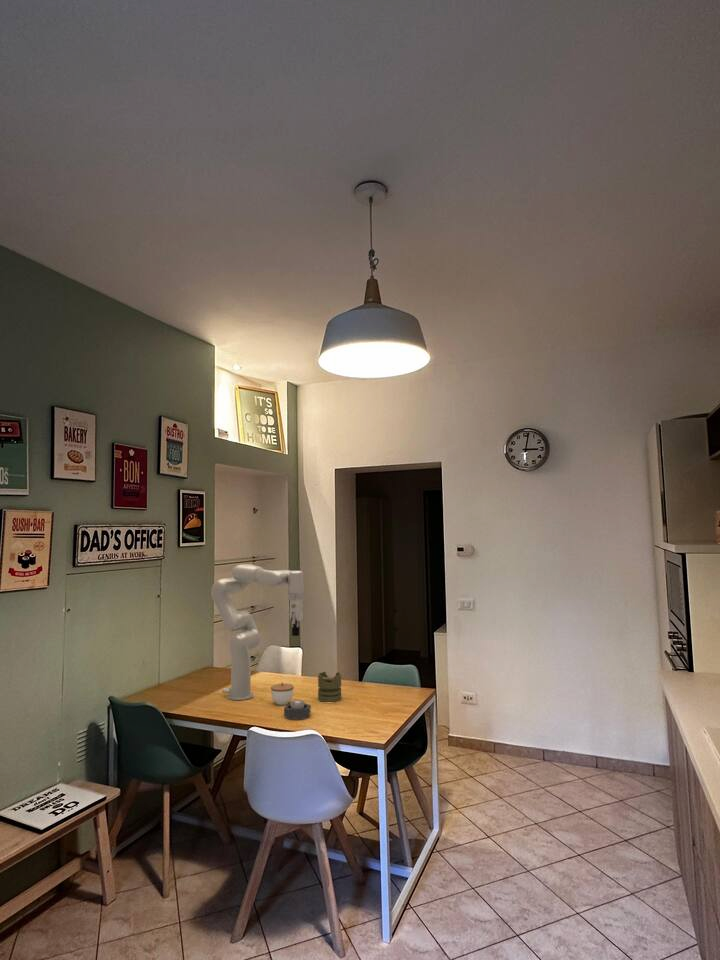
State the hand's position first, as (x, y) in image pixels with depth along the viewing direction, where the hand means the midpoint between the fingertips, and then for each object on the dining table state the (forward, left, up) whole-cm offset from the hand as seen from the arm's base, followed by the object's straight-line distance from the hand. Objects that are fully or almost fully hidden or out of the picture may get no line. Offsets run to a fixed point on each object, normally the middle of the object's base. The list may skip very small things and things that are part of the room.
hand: (295, 635), depth 263 cm
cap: (+4, -16, -31) cm, 35 cm away
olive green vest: (+15, +10, -32) cm, 37 cm away
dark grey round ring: (+4, -16, -32) cm, 36 cm away
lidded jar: (-7, +3, -32) cm, 33 cm away
